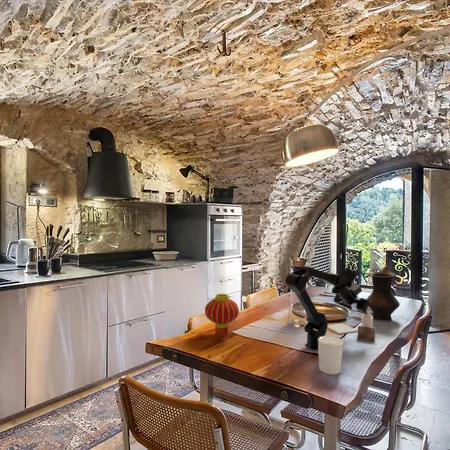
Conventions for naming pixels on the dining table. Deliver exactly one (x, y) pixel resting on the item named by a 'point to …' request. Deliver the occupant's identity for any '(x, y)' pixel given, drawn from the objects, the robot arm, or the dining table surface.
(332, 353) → the white cylinder
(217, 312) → the lantern
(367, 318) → the bottle
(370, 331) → the brown wooden box
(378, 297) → the jug
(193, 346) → the dining table surface
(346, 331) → the board
